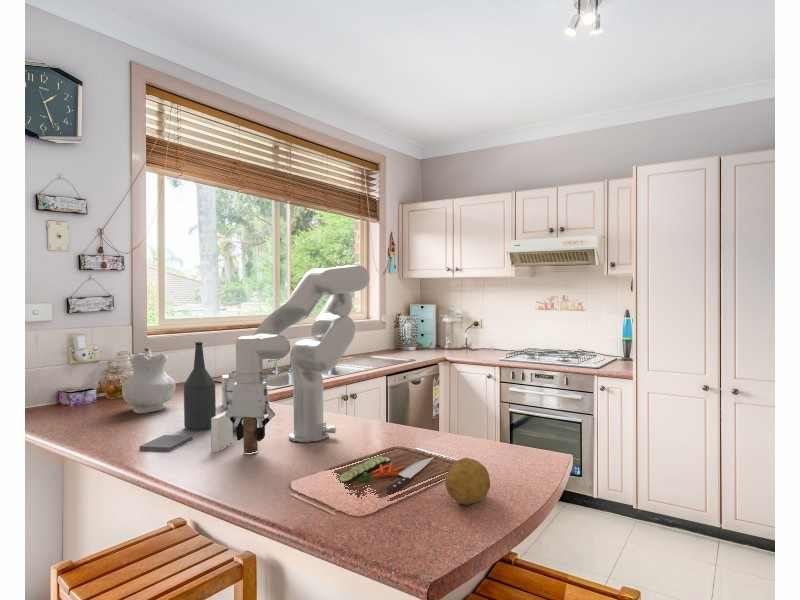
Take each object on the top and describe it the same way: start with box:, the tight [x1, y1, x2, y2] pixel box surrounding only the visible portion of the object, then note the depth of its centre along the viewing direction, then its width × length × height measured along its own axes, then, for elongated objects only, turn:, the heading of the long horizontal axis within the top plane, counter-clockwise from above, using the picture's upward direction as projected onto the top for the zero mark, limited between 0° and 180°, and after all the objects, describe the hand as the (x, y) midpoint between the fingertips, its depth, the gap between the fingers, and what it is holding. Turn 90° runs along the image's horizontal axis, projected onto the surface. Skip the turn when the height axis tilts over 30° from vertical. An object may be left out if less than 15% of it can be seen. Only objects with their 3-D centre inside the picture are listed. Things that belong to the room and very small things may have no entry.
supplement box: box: [221, 374, 229, 409], centre depth 209 cm, size 7×7×13 cm
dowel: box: [242, 417, 259, 453], centre depth 148 cm, size 4×4×14 cm
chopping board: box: [323, 445, 460, 501], centre depth 128 cm, size 45×27×3 cm, turn 137°
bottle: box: [183, 341, 217, 432], centre depth 176 cm, size 10×10×30 cm
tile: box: [210, 411, 234, 452], centre depth 153 cm, size 2×9×10 cm, turn 172°
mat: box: [139, 434, 194, 452], centre depth 156 cm, size 10×12×1 cm
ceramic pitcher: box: [121, 346, 176, 414], centre depth 204 cm, size 22×20×25 cm
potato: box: [444, 457, 491, 505], centre depth 113 cm, size 10×13×9 cm
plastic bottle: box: [225, 370, 243, 432], centre depth 172 cm, size 6×7×20 cm
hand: (250, 438), depth 148 cm, fingers open, 5 cm apart
